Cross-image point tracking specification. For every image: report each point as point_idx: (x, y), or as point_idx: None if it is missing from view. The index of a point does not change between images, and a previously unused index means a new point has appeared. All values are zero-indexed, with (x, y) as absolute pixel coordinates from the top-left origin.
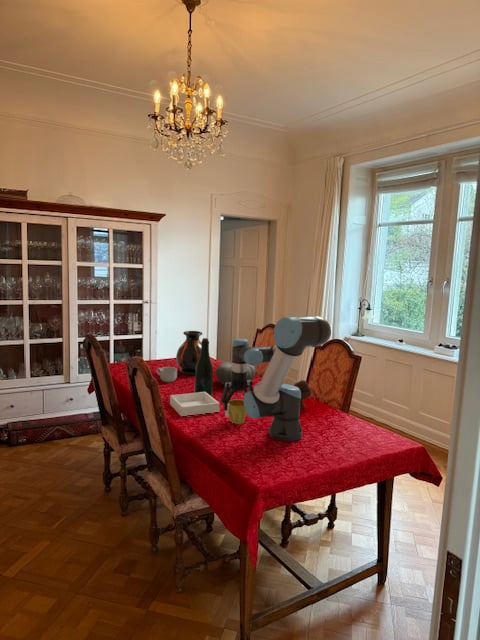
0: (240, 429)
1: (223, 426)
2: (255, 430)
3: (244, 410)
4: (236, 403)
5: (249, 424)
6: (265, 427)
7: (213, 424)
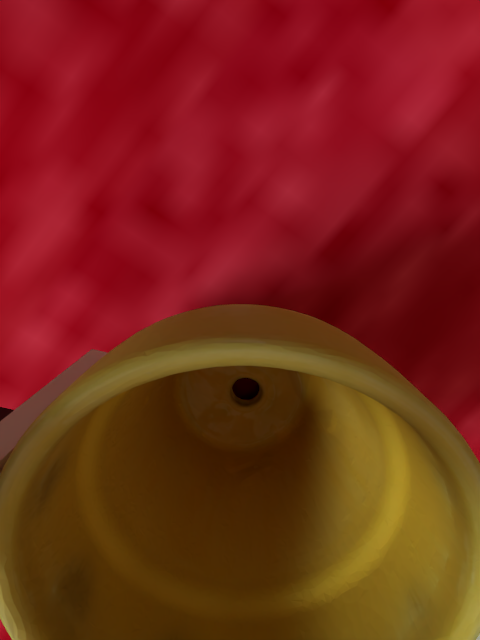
0: (358, 196)
1: (439, 364)
2: (233, 60)
3: (246, 309)
4: (157, 624)
5: (174, 255)
6: (63, 63)
7: (475, 452)
